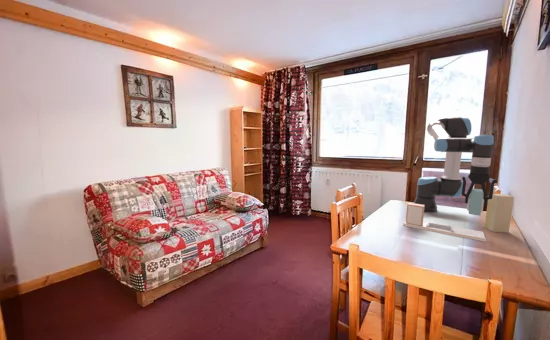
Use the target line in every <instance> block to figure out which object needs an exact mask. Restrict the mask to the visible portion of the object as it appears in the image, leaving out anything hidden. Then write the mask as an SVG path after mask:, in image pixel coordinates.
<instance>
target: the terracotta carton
mask: <svg viewBox="0 0 550 340" xmlns="http://www.w3.org/2000/svg"><path fill="white" fill-rule="evenodd" d="M424 207H425V205H421V204H415V203H414V202H408V203H407V205H406V217H405V221H406V223H408V224H413V225H418V226H423V221H424V216H425V215H424V214H425V211H424Z"/></svg>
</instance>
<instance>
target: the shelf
mask: <svg viewBox="0 0 550 340" xmlns="http://www.w3.org/2000/svg"><path fill="white" fill-rule="evenodd" d="M402 224H403V225H402V226H404V227H408V228H414V229H419V230H423V231H430V232H433V233H439V234H445V235H449V236H453V237H460V238H464V239H470V240H475V241H481V242H485V243H486V242H487V238H486V237H485V234H484V231H481V230H475V229H469V228H463V227H458V226H452V225H446V224H441V223H435V222H430V221H424V220H423V226H418V225H413V224H408V223H406V220H405V221H404V222H403V223H402Z"/></svg>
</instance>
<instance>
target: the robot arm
mask: <svg viewBox="0 0 550 340" xmlns="http://www.w3.org/2000/svg"><path fill="white" fill-rule="evenodd" d="M426 130H427V132H428V135H429V136H432V138H433V139H434V145H433V148H434V152H435V151H436V152H441V153H445V161H444V169H443V174H442V175H441V176H440V178H439V179H438V177H437V176H422V177H419V178H418V180H417V187H416V196H415V198H414V201H413V203H415V204H421V205H425V207H424V212H426V213H427V212H428V213H435V212H437V211H438V206H437V202H436V197H448V198H460V197H461V196H463V197H464V198H465V199H464V203H465V204H466V211H468V210H469V205H470V193H471V191H472V189H473V188H474V186H475V185H481V189H482V191H483V192H484V194H483V202H482V209H481V213H483V212H484V211H483V210H484V207H487V204H488V199H492V196H493V194H494V189H495V184H496V182H497V180H496V179H494V178H491V177H490V169H491V168H490V166H491V162H492V155H493V149H494V143H495V141H494V140H495V139H494V138H495V137H494V135H493V134H476V135H474V137H473V138H467V136H469V135H471V134H472V133H471V132H472V122H471V120H470V119H469V117H463V116H462V117H461V116H458V117H454V116H453V117H439V118H435V119H434V120H431V122H429V123H428V125H427V129H426ZM463 153H468V154H469V153H472V155H471V161H470V169H469V174H468V175H466V176H462V177H460V168H461V162H462V161H461V160H462V155H463ZM468 179H469V180H470V181H471V183H470V185H469V186H468V189H467V192H466V185H467V181H468ZM488 181H489V183H490V184H489V191H488V195H487V189H486V183H487V182H488Z"/></svg>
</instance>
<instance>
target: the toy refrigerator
mask: <svg viewBox="0 0 550 340" xmlns="http://www.w3.org/2000/svg"><path fill="white" fill-rule="evenodd" d="M514 200H515V197H514V196H513V195H508V194H507V193H506V194H504V193H493V196H492V199H488V200H487V204H486V213H485V220H484V221H485V222H484V229H486V230H489V231H490V232H492V233H509V232H510V228H511V227H510V226H511V219H512V213H513V208H514V207H513V206H514Z"/></svg>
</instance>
